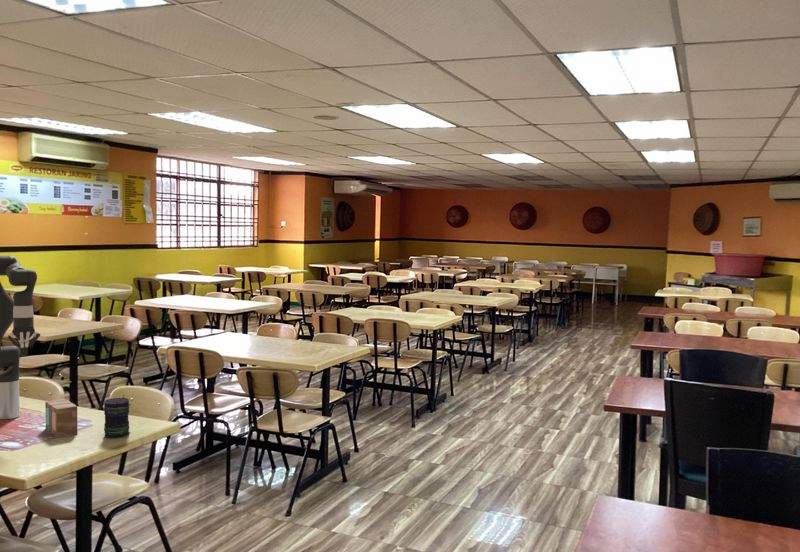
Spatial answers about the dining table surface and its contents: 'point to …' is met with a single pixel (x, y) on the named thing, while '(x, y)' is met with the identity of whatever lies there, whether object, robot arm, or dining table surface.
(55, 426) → the terracotta button
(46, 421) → the grey-green piece
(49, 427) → the walnut console
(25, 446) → the dining table surface
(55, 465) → the dining table surface
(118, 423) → the dark blue barrel
